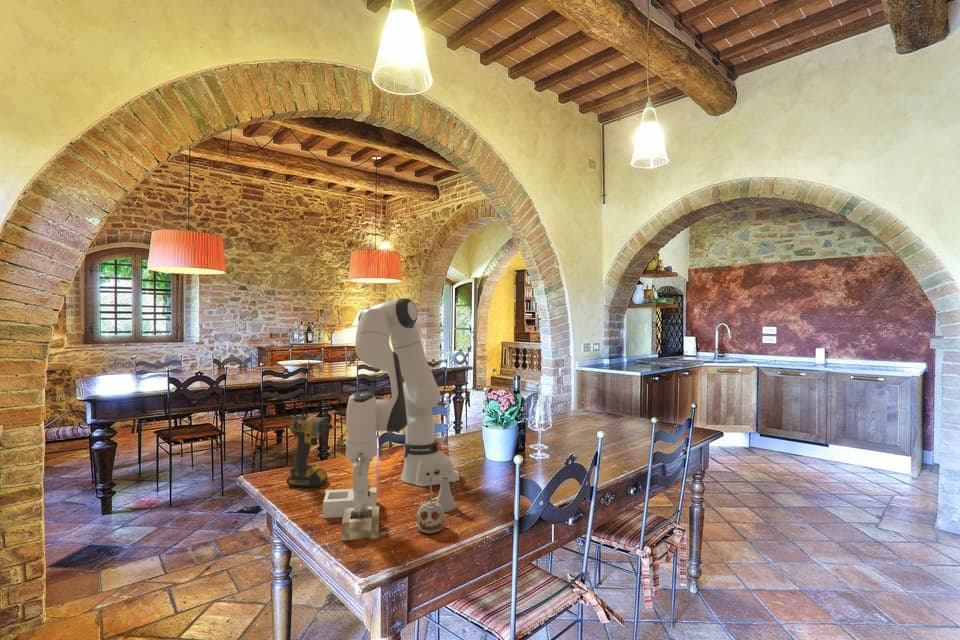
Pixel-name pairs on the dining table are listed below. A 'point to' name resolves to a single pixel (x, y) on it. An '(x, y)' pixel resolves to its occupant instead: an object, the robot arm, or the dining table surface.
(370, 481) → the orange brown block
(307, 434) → the cordless drill
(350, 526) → the beige square holder
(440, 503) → the flask
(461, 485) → the dining table surface
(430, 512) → the decorative ornament
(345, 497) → the socket block
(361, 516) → the grey metallic cylinder
